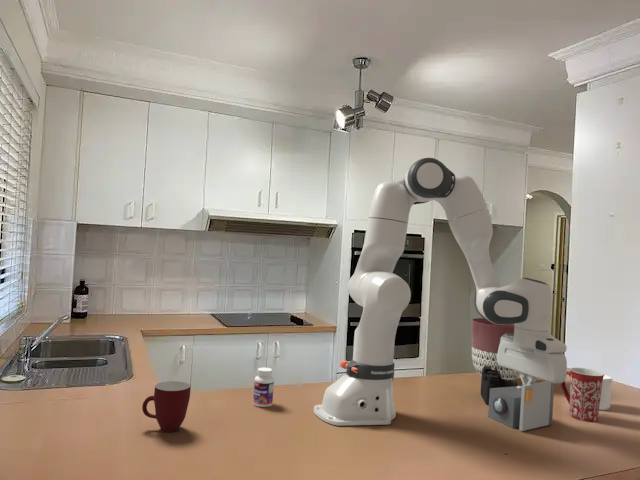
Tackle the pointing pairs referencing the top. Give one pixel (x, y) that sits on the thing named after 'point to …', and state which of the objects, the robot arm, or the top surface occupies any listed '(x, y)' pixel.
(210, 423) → the top surface
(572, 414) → the mug
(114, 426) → the top surface
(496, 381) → the camera
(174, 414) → the mug
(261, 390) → the pill bottle
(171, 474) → the top surface
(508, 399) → the housing
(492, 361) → the planter
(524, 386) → the door
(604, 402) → the cup
